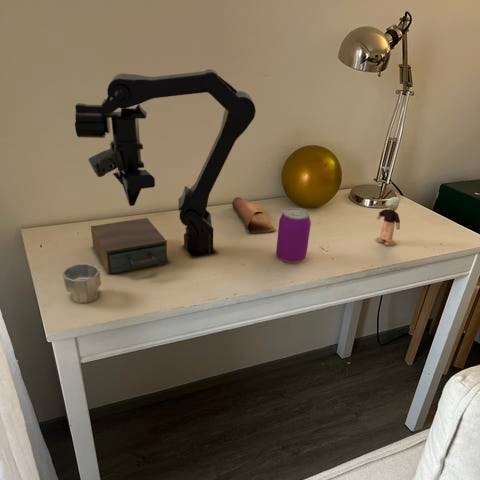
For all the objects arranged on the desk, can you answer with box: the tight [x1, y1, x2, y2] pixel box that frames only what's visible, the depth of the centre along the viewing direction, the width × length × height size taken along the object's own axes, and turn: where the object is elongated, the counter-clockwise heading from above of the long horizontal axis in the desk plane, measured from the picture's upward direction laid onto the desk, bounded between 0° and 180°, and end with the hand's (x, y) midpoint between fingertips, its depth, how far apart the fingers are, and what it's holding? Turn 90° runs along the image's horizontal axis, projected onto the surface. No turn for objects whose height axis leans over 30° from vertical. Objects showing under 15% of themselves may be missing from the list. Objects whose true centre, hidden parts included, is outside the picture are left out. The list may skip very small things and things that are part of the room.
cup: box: [62, 263, 102, 304], centre depth 107 cm, size 7×8×6 cm
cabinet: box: [90, 217, 169, 275], centre depth 123 cm, size 14×14×6 cm
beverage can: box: [275, 207, 312, 264], centre depth 125 cm, size 8×8×12 cm
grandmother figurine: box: [376, 196, 401, 246], centre depth 135 cm, size 8×4×13 cm, turn 47°
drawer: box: [109, 245, 168, 274], centre depth 121 cm, size 17×13×4 cm
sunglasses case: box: [231, 196, 275, 234], centre depth 145 cm, size 18×7×7 cm
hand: (131, 205), depth 120 cm, fingers closed
